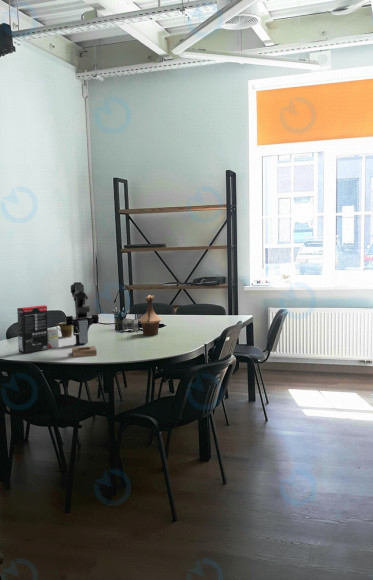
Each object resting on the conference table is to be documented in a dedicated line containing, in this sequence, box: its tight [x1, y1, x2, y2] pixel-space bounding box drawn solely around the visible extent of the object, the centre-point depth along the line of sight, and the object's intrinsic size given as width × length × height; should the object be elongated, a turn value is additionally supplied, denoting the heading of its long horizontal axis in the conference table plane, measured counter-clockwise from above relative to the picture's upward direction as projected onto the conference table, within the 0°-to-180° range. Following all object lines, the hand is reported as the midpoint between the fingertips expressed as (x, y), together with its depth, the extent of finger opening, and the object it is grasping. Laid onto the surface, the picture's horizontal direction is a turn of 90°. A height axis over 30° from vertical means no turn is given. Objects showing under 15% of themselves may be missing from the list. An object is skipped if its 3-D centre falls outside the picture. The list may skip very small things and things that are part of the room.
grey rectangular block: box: [79, 319, 89, 344], centre depth 288 cm, size 4×4×13 cm
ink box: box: [47, 327, 60, 349], centre depth 313 cm, size 9×5×12 cm, turn 107°
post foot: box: [71, 345, 98, 358], centre depth 289 cm, size 13×13×3 cm
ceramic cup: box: [55, 321, 73, 338], centre depth 352 cm, size 13×10×10 cm
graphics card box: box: [16, 304, 49, 354], centre depth 301 cm, size 17×7×27 cm, turn 141°
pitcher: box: [137, 294, 163, 336], centre depth 352 cm, size 18×17×28 cm
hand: (83, 331), depth 287 cm, fingers closed on grey rectangular block, 4 cm apart
